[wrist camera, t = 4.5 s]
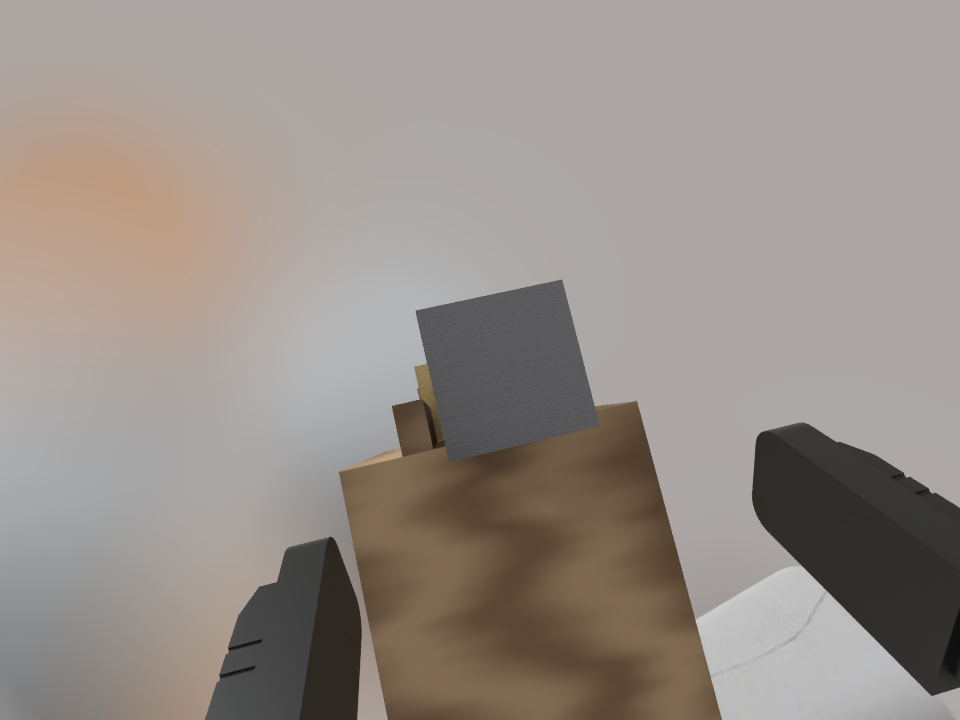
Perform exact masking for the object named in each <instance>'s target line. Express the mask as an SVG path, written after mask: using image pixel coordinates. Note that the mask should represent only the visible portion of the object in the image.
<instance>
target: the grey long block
mask: <svg viewBox="0 0 960 720" xmlns="http://www.w3.org/2000/svg"><path fill="white" fill-rule="evenodd" d="M416 315H417V320H418V324H419V329H420V333H421V338H422V342H423V346H424V351H425V356H426V360H427V364H425V365H421V366H416V367H414V368H415V372H416V377H417V381H418V386H419V391H420V395H421V399H422V400H423V401H424V402H425V403H426V404H427V405H428V406H429V407H430V409H431V414H432V418H433V423H434V428H435V432H436V437H437V441H442V440H444V442H445V446H446V451H447V455H448V460H449V462H453V461H457V460H461V459H465V458H469V457H473V456H478V455H482V454H486V453H490V452H494V451H498V450H502V449H507V448H511V447H515V446H519V445H523V444H527V443H531V442H536V441H540V440H544V439H548V438H552V437H556V436H561V435H565V434H569V433H573V432H577V431H581V430H585V429H590V428H594V427H598V426H600V425H599V422H598V418H597V414H596V410H595V406H594V402H593V399H592V394H591V390H590V387H589V383H588V379H587V375H586V371H585V367H584V363H583V359H582V355H581V352H580V348H579V344H578V340H577V336H576V332H575V328H574V324H573V321H572V316H571V313H570V309H569V305H568V301H567V297H566V293H565V289H564V286H563V282H562V280H558V281H554V282H549V283H544V284H539V285H535V286H530V287H525V288H520V289H516V290H511V291H506V292H502V293H497V294H492V295H487V296H483V297H478V298H473V299H468V300H464V301H459V302H454V303H450V304H445V305H440V306H435V307H431V308H426V309H421V310H416Z"/></svg>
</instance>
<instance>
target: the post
mask: <svg viewBox="0 0 960 720" xmlns="http://www.w3.org/2000/svg"><path fill="white" fill-rule="evenodd" d="M417 390H418V394H419V399H420V400H416V401H412V402H408V403H403V404H399V405H395V406H392V409H393V414H394V419H395V423H396V428H397V433H398V437H399V442H400V447H401V448H400V449H396V450H392V451H387V452H384V453H381V454H379V455H377V456H375V457H373V458H370V459H368V460H365V461H363V462H361V463H359V464H356V465H354V466H352V467H350V468H347V469H345V470H343V471H340V472H339V474H340V479H341V484H342V489H343V495H344V500H345V505H346V510H347V515H348V520H349V525H350V530H351V535H352V540H353V545H354V550H355V555H356V560H357V565H358V570H359V575H360V580H361V586H362V590H363V595H364V601H365V606H366V611H367V616H368V621H369V626H370V631H371V636H372V641H373V646H374V651H375V657H376V662H377V667H378V672H379V676H380V682H381V687H382V692H383V697H384V702H385V707H386V712H387V717H388V720H722V718H721V715H720V711H719V707H718V703H717V700H716V696H715V692H714V688H713V685H712V681H711V677H710V673H709V670H708V666H707V662H706V658H705V655H704V651H703V647H702V643H701V640H700V636H699V632H698V628H697V625H696V621H695V617H694V613H693V610H692V606H691V602H690V598H689V595H688V591H687V587H686V583H685V580H684V576H683V572H682V568H681V565H680V561H679V557H678V553H677V550H676V546H675V542H674V539H673V535H672V531H671V527H670V523H669V520H668V516H667V512H666V508H665V505H664V501H663V497H662V493H661V489H660V486H659V482H658V478H657V475H656V471H655V467H654V464H653V459H652V456H651V452H650V448H649V445H648V441H647V437H646V433H645V430H644V426H643V422H642V418H641V414H640V411H639V407H638V403H637V401H634V402H627V403H618V404H610V405H602V406H595V410H596V414H597V418H598V422H599V425H600V426H598V427H594V428H590V429H585V430H581V431H577V432H573V433H569V434H565V435H561V436H556V437H552V438H548V439H544V440H540V441H536V442H531V443H527V444H523V445H519V446H515V447H511V448H507V449H502V450H498V451H494V452H490V453H486V454H482V455H478V456H473V457H469V458H465V459H461V460H457V461H453V462H449V460H448V455H447V451H446V446H445V442H444V440H442V441H437V437H436V432H435V428H434V423H433V418H432V414H431V409H430V407H429V406H428V405H427V404H426V403H425V402H424V401H423V400H422V399H421V395H420V391H419V389H417Z"/></svg>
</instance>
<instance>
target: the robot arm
mask: <svg viewBox="0 0 960 720" xmlns="http://www.w3.org/2000/svg"><path fill="white" fill-rule="evenodd" d="M754 462H755V463H754V475H753V490H752V501H753V506H754V509H755V512H756V515H757V517H758V519H759V520H760V522H761V524H762V525H763V526H764V527H765V529H766V530H767V531H768V532H769V533H770V534H771V535H772V536H773V537H774V538H775V539H776V540H777V541H778V542H779V543H780V544H781V545H782V546H783V547H784V548H785V549H786V550H787V551H788V552H789V553H790V554H791V555H792V556H793V557H794V558H795V559H796V560H797V561H798V562H799V563H800V564H801V565H802V566H803V567H804V568H805V569H806V570H807V571H808V572H809V573H810V574H811V575H812V576H813V577H814V578H815V579H816V580H817V581H818V582H819V583H820V584H821V585H822V586H823V587H824V588H825V589H826V590H827V591H828V592H829V593H830V594H831V595H832V596H833V597H834V598H835V599H836V600H837V601H838V602H839V603H840V604H841V606H842V607H843V608H844V609H845V610H846V611H847V612H848V613H849V614H850V615H851V616H852V617H853V618H854V619H855V620H856V621H857V622H858V623H859V624H860V625H861V626H862V627H863V628H864V629H865V630H866V631H867V632H868V633H869V634H870V635H871V636H872V637H873V638H874V639H875V640H876V641H877V642H878V643H879V644H880V645H881V646H882V647H883V648H884V649H885V650H886V651H887V652H888V653H889V654H890V655H891V656H892V657H893V658H894V659H895V660H896V661H897V662H898V663H899V664H900V665H901V666H902V667H903V668H904V669H905V670H906V671H907V672H908V673H909V674H910V675H911V676H912V677H913V678H914V679H915V680H916V681H917V682H918V683H919V684H920V685H921V686H922V687H923V688H924V689H925V690H926V691H927V692H928V693H929V694H930V695H931V696H933V695H936V694H940V693H943V692H946V691H949V690H952V689H956V688H959V687H960V508H959V507H957V506H956V505H954V504H953V503H951V502H949V501H948V500H946V499H945V498H943V497H941V496H940V495H938V494H937V493H933V494H932V493H931V492H930V491H929V489H928V488H927V487H925V486H924V485H922V484H921V483H919V482H917V481H916V480H914V479H912V478H911V477H908V478H906V477H905V475H904V473H903V472H902V471H900V470H898V469H897V468H895V467H893V466H892V465H890V464H889V463H887V462H886V461H884V460H882V459H881V458H879V457H878V456H876V455H874V454H871V453H869V452H866V451H863V450H860V449H858V448H855V447H852V446H850V445H847V444H844V443H841V442H838V443H837V442H835V441H834V440H832V439H831V438H829V437H828V436H826V435H824V434H823V433H822V432H820V431H818V430H817V429H815V428H814V427H812V426H810V425H809V424H806V423H797V424H792V425H788V426H784V427H780V428H776V429H772V430H768V431H764V432H761V433H760V434H759V435H758V437H757V440H756V447H755V461H754ZM361 635H362V630H361V617H360V611H359V605H358V601H357V598H356V595H355V592H354V590H353V587H352V584H351V581H350V579H349V576H348V573H347V570H346V568H345V565H344V563H343V559H342V557H341V554H340V551H339V549H338V546H337V544H336V542H335V540H334V539H333V538H332V537H328V538H324V539H320V540H316V541H312V542H308V543H304V544H300V545H296V546H292V547H289V548H287V550H286V551H285V554H284V557H283V561H282V565H281V569H280V573H279V577H278V581H277V582H276V583H272V584H269V585H264V586H260V587H259V588H258V589H257V591H256V592H255V593H254V595H253V596H252V598H251V599H250V600H249V602H248V603H247V605H246V606H245V607H244V609H243V610H242V612H241V613H240V614H239V616H238V618H237V622H236V625H235V628H234V631H233V634H232V637H231V640H230V644H229V646H228V649H229V653H228V654H226V656H225V659H224V662H223V665H222V668H221V672H220V674H219V676H220V681H219V682H217V684H216V687H215V690H214V693H213V696H212V699H211V703H210V706H209V709H208V712H207V715H206V718H205V720H357V712H358V711H357V710H358V693H359V675H360V656H361V637H362V636H361Z"/></svg>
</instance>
